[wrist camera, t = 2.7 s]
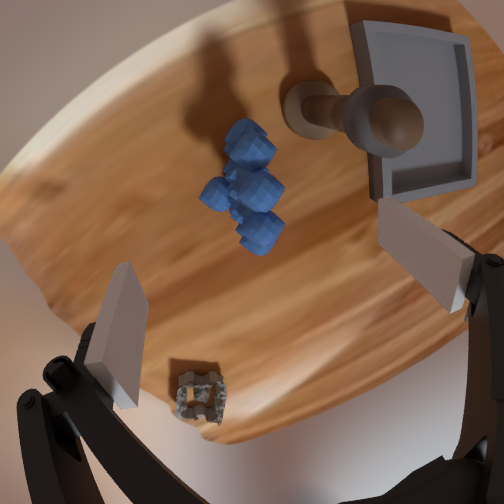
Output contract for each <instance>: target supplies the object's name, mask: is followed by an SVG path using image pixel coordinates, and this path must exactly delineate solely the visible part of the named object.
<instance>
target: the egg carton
mask: <svg viewBox="0 0 504 504" xmlns="http://www.w3.org/2000/svg"><path fill="white" fill-rule="evenodd" d="M178 382H179V389H178V391H177V402H176V417H177V418H179V419H186V420H188V419H194V420H196V421H197V420H198V417H206V420H207V422H210V423H214V422H215V423H218V425H221V423H222V418H223V411H224V408H225V402H226V398H227V393H226V384H224V383H223V376H220V375H218V374H217V372H216V371H209V373H208V374H207V375H205V376H198V375H196V374H195V373H194V371H186V373H185V374H184V375H179V376H178ZM215 382H216V384H215V389H216V395H215V396H214V404H215V406H213V408H206V406H205V405H201V404H199V405H195V406H194V407H193V408H187V388H192V387H193V390H194V397H193V398H194V400H195V401H201V402H203V403H207V401H208V397H209V386H210V387H213V384H214V383H215Z"/></svg>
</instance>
